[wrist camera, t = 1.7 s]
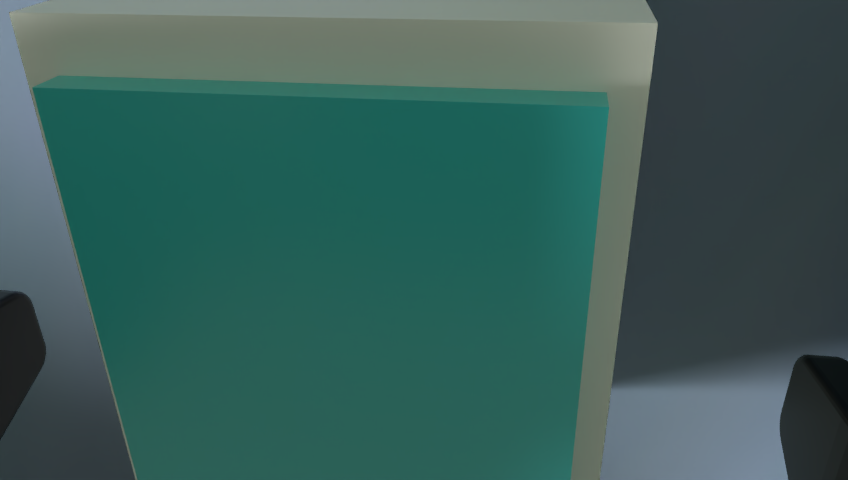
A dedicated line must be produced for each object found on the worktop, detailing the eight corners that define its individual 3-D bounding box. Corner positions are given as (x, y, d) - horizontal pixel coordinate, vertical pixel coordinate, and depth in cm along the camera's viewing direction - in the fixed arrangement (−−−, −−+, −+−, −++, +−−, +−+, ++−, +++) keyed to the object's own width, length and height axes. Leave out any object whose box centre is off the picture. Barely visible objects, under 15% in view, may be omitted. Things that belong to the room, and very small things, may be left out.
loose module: (610, -66, 10) (663, 34, 5) (567, 386, 14) (570, 736, 9) (269, -65, 11) (-23, 21, 6) (315, 364, 15) (167, 670, 9)
